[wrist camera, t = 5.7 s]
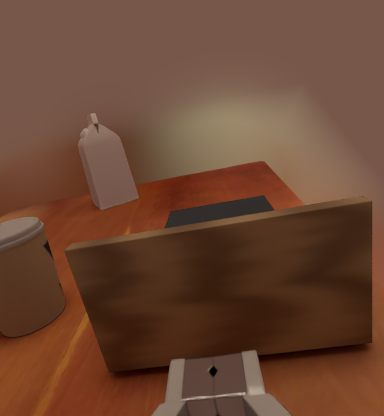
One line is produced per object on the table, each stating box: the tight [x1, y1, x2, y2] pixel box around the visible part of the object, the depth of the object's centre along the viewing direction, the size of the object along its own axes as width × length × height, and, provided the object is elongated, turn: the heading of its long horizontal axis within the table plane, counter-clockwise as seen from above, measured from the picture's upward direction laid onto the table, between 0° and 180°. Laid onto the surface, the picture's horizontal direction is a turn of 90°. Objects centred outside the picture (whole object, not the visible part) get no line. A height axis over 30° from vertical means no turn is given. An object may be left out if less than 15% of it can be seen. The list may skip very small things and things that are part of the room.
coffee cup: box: [0, 217, 65, 337], centre depth 35 cm, size 9×9×12 cm
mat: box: [165, 195, 274, 228], centre depth 58 cm, size 22×18×1 cm
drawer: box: [65, 196, 372, 372], centre depth 29 cm, size 22×14×13 cm, turn 87°
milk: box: [78, 113, 139, 210], centre depth 85 cm, size 12×12×26 cm
